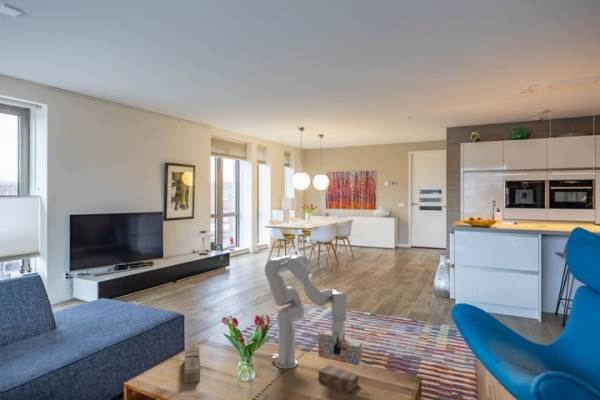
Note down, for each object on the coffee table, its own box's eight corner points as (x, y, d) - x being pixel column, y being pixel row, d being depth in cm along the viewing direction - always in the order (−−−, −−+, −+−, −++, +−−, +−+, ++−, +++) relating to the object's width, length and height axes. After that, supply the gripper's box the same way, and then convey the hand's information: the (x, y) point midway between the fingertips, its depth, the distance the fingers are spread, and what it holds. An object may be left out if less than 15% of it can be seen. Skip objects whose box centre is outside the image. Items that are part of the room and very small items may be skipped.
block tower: (184, 362, 207) (183, 385, 179) (185, 347, 207) (184, 368, 179) (199, 360, 209) (200, 383, 181) (199, 345, 209) (200, 366, 181)
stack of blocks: (361, 360, 182) (362, 336, 182) (357, 365, 176) (358, 340, 176) (322, 352, 192) (323, 329, 192) (317, 356, 186) (318, 332, 186)
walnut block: (318, 380, 186) (318, 370, 186) (327, 374, 193) (328, 364, 193) (348, 392, 175) (349, 381, 175) (357, 385, 182) (358, 375, 182)
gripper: (336, 310, 194) (335, 344, 194) (327, 320, 178) (326, 357, 177) (349, 312, 191) (349, 346, 191) (342, 322, 175) (341, 359, 175)
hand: (338, 351), depth 184 cm, fingers closed on stack of blocks, 6 cm apart
